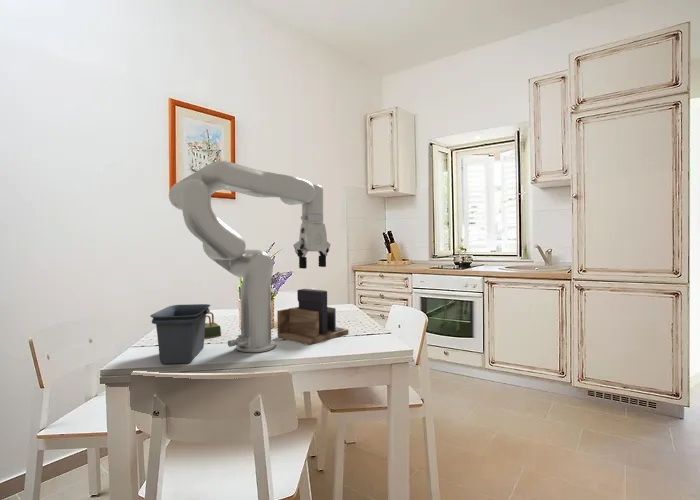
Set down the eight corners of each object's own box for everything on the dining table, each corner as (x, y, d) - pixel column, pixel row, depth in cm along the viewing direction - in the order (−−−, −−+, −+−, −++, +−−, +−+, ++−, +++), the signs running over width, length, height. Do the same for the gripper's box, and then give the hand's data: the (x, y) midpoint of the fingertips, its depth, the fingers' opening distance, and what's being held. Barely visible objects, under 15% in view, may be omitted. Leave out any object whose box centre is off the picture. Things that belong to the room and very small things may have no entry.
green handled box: (169, 338, 149) (169, 326, 149) (215, 332, 158) (215, 321, 158) (173, 343, 142) (173, 330, 142) (221, 336, 151) (221, 325, 151)
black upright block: (329, 332, 149) (328, 290, 148) (321, 334, 146) (321, 291, 145) (305, 328, 155) (304, 288, 155) (297, 330, 152) (297, 289, 151)
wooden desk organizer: (309, 344, 138) (308, 314, 138) (277, 337, 148) (277, 309, 148) (348, 333, 153) (348, 306, 153) (317, 327, 164) (317, 301, 163)
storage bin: (171, 347, 136) (169, 303, 136) (219, 345, 138) (219, 302, 138) (147, 368, 115) (146, 317, 115) (205, 365, 117) (204, 315, 116)
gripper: (302, 218, 140) (302, 269, 140) (336, 220, 153) (336, 266, 154) (287, 219, 145) (287, 268, 145) (322, 220, 158) (322, 265, 159)
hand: (312, 267), depth 149 cm, fingers open, 9 cm apart
